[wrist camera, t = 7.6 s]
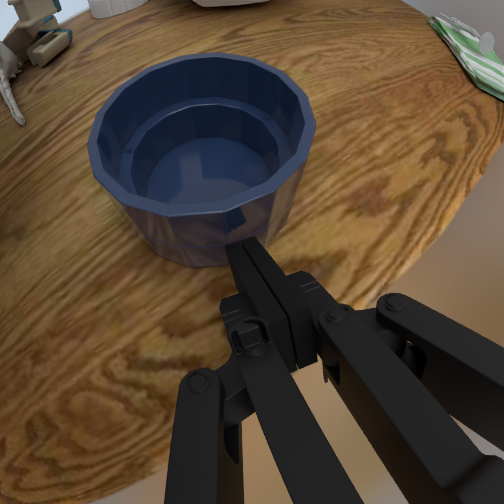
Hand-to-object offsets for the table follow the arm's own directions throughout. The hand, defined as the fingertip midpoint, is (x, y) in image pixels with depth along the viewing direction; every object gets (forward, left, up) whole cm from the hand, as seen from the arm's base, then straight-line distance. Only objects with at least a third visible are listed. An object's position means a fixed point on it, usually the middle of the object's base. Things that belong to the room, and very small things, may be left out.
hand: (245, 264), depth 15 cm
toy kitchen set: (+2, +48, +3) cm, 48 cm away
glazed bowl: (+4, +6, -4) cm, 8 cm away
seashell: (-2, +42, -4) cm, 43 cm away
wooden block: (+3, +44, +2) cm, 44 cm away
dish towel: (+59, -8, -4) cm, 60 cm away
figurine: (+60, -7, +1) cm, 60 cm away
